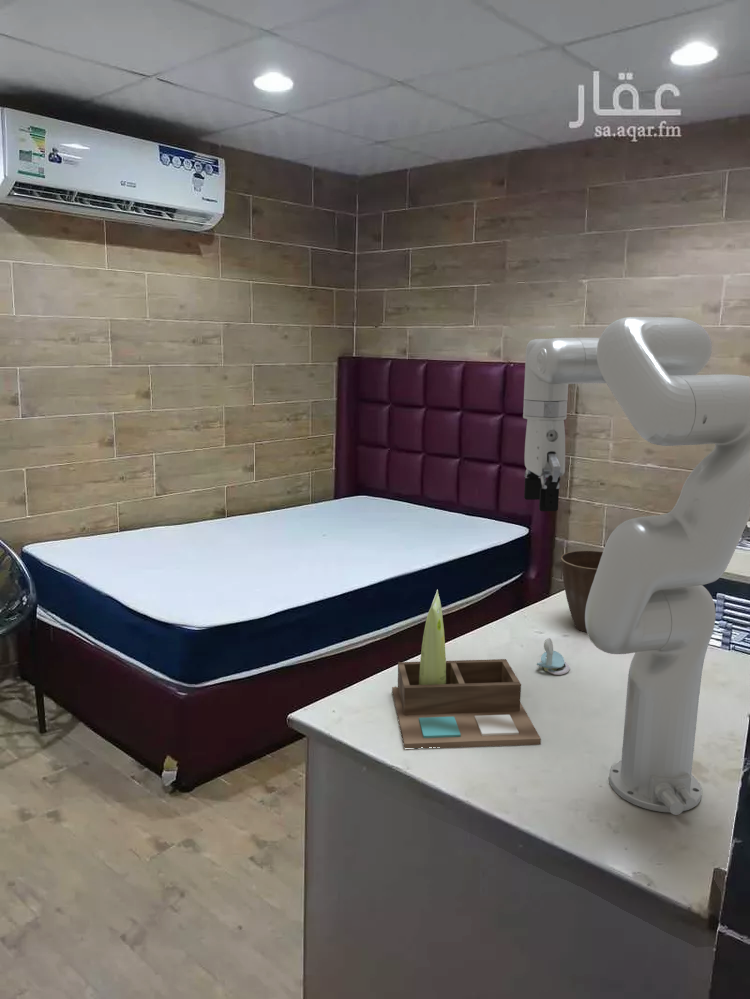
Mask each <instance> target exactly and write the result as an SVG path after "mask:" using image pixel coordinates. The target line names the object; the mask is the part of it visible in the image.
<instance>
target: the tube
mask: <svg viewBox="0 0 750 999" xmlns="http://www.w3.org/2000/svg"><path fill="white" fill-rule="evenodd" d="M435 592H436V593H435V595H434V598H433V600H432V603H431V605H430V608H429V610H428V613H427V616H426V620H425V625H424V630H423V636H422V643H421V652H420V661H419V662H420V673H419V685H434V684H446V661H447V659H446V641H445V638H446V637H445V628H444V618H443V610H442V604H441V603H442V602H441V599H440V596H439V595H440V594H439V590H438V589H436V591H435Z"/></svg>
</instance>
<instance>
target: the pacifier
mask: <svg viewBox="0 0 750 999" xmlns="http://www.w3.org/2000/svg"><path fill="white" fill-rule="evenodd" d="M543 649H544V651H545V652H544V653H542V655H541V656H540V661H541V662H537V663H536V666H538V667H541V668H543V670H544V672H548V673H550V674H552V675H553V676H554V675H555V676H562V675H565V674H567V673H568V672H569V671H570V668H571V667H570V664H568V663H567V662H565V659H564V657H563V655H562V654H561V653H559V651H556V650H554V644H553V640H552V638H550V637H548V638H546V639H545V640H544V642H543ZM563 667H564V668H563ZM561 668H563V669H562V670H558V669H561Z"/></svg>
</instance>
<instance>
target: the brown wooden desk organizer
mask: <svg viewBox="0 0 750 999" xmlns="http://www.w3.org/2000/svg"><path fill="white" fill-rule="evenodd" d="M419 673H420V661H398V662H397V686H392V687H391V689H392V690H391V691H392V692H391V693H393V694H392V698H393V701H394V702H395V703H394V707H396V708H395V712H396V711H397V712H396V715H397V716H398V717H397V716H396V717H397V721H398V720H399V721H398V726H399V725H400V726H399V730H401V731H400V735H401V734H402V735H401V739H402V738H403V740H402V743H404V745H403V748H404V747H405V748H421V747H423V748H429V747H432V749H434V748H433V747H436V748H435V749H438V748H437V747H440V748H439V749H453V748H454V749H457V748H476V747H477V748H478V747H479V748H480V747H483V748H484V747H509V746H531V745H532V746H533V745H538V746H539V745H542V744H541V743H542V738H541V736H540V735H539V732H538V731H537V729H536V728H535V726H534V724H533V722H532V720H531V718H530V717H529V715H528V713H527V711H526V710H525V708H524V706H523V703H522V702H521V697H522V696H521V694H522V693H521V692H522V684H521V682H520V681H519V679H518V677H517V675H516V673H515V671H514V670H513V668H512V667H511V664H509V662H508V659H506V658H499V659H498V658H496V659H470V660H469V659H465V660H464V659H462V660H446V684H434V685H419Z"/></svg>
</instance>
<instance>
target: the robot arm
mask: <svg viewBox="0 0 750 999" xmlns="http://www.w3.org/2000/svg"><path fill="white" fill-rule="evenodd" d="M712 350H713V345H712V339H711V337H710V334H709V333H708V332H707V330H706V329H705V328H704V327H703V326H702V325H700V324H699V323H698V322H696V321H694V320H692V319H688V318H684V317H673V316H669V317H668V316H667V317H664V316H658V317H657V316H656V317H655V316H629V317H625V316H624V317H622V318H619V319H617V320H614V321H613V322H611V323H610V324H608V326H606V328H605V329H604V330H603V332H601V335H600V336H599V337H553V338H535V339H531V340H529V342H528V343H527V345H526V347H525V363H524V367H525V368H524V384H523V385H524V386H523V387H524V388H523V412H522V413H523V414H522V418H523V419H525V420H526V421H527V422H526V426H525V427H526V428H525V429H526V430H525V441H524V466H525V468H526V470H525V472H524V477H525V478H524V489H523V490H524V496H523V498H524V499H525V500H527V501H528V500H531V501H534V500H538V501H539V504H538V509H539V511H540V512H557V511H558V509H559V496H560V495H559V494H560V493H559V492H560V487H561V485H560V481H561V477H562V476H563V475H564V474H565V472H566V432H565V431H566V429H565V421H564V420H567V412H568V400H569V399H568V396H569V385H573V384H606V385H607V387H608V389H609V390H610V392H611V393H612V395H613V397H614V399H616V402H617V403H618V404H619V406H620V408H621V409H622V411H623V413H624V415H625V417H627V419H628V421H629V423H630V424H631V426H632V427H633V429H634V430H635V431H636V432H637V434H638V435H639V436H640V437H641V438H642V439H644V440H645V441H646V442H648V443H651V444H653V445H657V446H662V447H673V446H677V447H678V446H697V445H714V448H713V449H712V451H710V453H708V454H707V455H706V456H705V457H704V458H703V459H702V460H701V461H700V462H699V463H697V465H696V466H695V467H694V468H693V469H692V471H691V472H690V473H689V475H688V476H687V478H686V479H685V481H684V483H683V485H682V488H681V491H680V494H679V497H678V499H677V501H676V503H675V505H674V506H673V508H672V510H670V511H669V512H667V513H664V514H660V515H649V516H638V517H634V518H630V519H627V520H625V521H623V522H621V523H619V524H618V525H617V526H616V527H615V528H614V530H612V532H611V533H610V535H609V536H608V539H607V541H606V543H605V545H604V548H603V549H602V550H603V551H602V552H603V553H602V556H601V559H600V562H599V565H598V568H597V571H596V574H595V577H594V580H593V583H592V586H591V589H590V593H589V596H588V600H587V604H586V610H585V625H586V630H587V632H586V633H587V636H588V638H589V640H590V641H591V643H592V644H593V645H594V646H595V647H596V648H597V649H598V650H600V651H602V652H604V653H606V654H609V655H626V654H634V655H633V657H632V659H631V661H630V664H629V669H628V674H627V688H626V695H625V696H626V698H625V700H626V701H625V711H624V724H623V725H624V726H623V736H622V751H621V760H619V761H617V762H616V763H614V764H613V765H612V766H611V768H610V769H609V774H608V775H609V777H608V780H609V784H610V786H611V789H612V790H613V791H614V792H615V793H616V794H617V795H618V796H620V797H621V798H622V799H623V800H625V801H626V802H628V803H630V804H633V805H635V806H637V807H639V808H642V809H645V810H649V811H653V812H660V813H671V814H672V815H674V816H677V815H680V814H682V813H683V812H686V811H689V810H691V809H693V808H694V807H696V806H698V805H699V803H700V801H701V799H702V792H703V790H702V786H701V783H700V782H699V781H698V779H697V778H696V777H695V776H694V775H693V774H692V772H693V771H692V770H693V764H694V763H693V762H694V753H695V752H694V751H695V741H696V731H697V721H698V712H699V711H698V710H699V703H700V702H699V700H700V695H701V694H700V692H701V683H702V677H703V675H702V674H703V668H704V663H705V659H706V658H705V657H706V654H707V651H708V648H709V645H710V642H711V638H712V635H713V632H714V628H715V624H716V616H717V615H716V613H717V612H716V605H715V602H714V599H713V597H712V595H711V593H710V591H709V590H708V589H707V588H706V587H705V586H704V585H707V584H708V585H709V584H711V583H714V582H716V581H717V580H719V579H720V578H721V576H722V575H723V574H724V573H725V572H726V569H727V568H728V566H729V564H730V562H731V559H732V557H733V556H734V553H735V551H736V549H737V547H738V544H739V542H740V540H741V538H742V535H743V532H744V531H745V529H746V526H747V525H748V522H749V520H750V376H748V375H741V374H699V373H700V372H701V371H703V369H704V368H705V367H707V364H708V363H709V361H710V359H711V355H712V352H713V351H712Z"/></svg>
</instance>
